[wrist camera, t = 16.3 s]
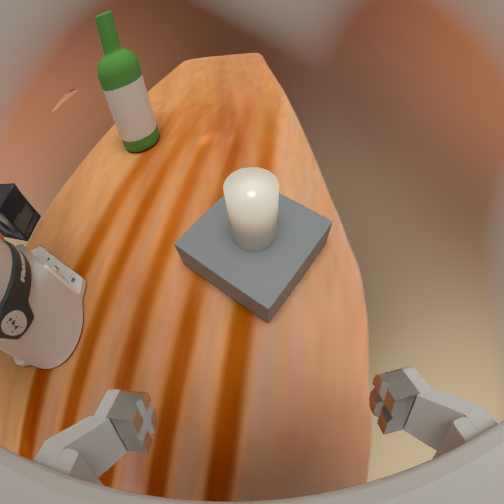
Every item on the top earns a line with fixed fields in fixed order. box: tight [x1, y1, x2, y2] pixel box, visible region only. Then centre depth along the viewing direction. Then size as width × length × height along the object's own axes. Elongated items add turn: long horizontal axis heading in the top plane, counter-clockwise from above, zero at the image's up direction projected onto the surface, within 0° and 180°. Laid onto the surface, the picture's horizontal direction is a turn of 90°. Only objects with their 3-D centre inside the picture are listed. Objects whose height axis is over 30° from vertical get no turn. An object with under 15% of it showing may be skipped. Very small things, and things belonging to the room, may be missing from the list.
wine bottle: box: [95, 11, 159, 152], centre depth 41 cm, size 8×8×30 cm
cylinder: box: [223, 167, 279, 252], centre depth 31 cm, size 6×6×8 cm
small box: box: [0, 183, 41, 241], centre depth 40 cm, size 11×6×10 cm, turn 81°
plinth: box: [174, 193, 332, 323], centre depth 37 cm, size 14×14×5 cm
